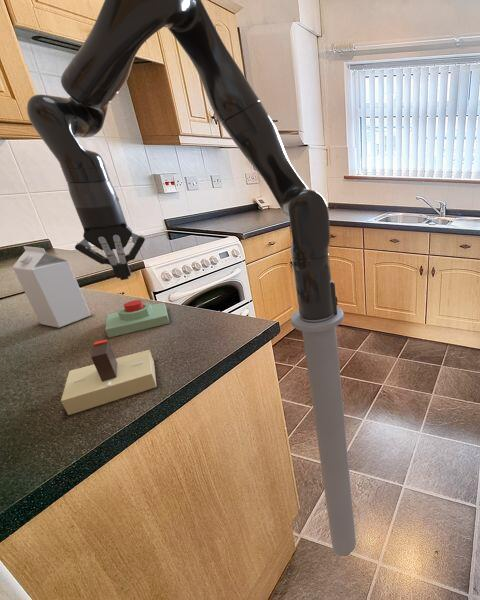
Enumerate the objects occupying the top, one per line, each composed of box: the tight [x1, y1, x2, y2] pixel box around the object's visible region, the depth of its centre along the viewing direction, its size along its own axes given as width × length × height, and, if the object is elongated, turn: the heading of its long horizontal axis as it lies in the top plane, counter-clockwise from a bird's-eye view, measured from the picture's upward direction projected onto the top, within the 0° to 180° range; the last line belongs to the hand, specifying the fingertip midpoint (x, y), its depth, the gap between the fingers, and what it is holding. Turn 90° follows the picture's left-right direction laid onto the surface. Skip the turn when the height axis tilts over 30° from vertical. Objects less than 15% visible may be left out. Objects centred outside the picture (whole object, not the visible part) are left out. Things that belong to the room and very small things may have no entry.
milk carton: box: [12, 245, 92, 328], centre depth 82 cm, size 7×7×19 cm
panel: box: [60, 349, 157, 416], centre depth 61 cm, size 12×10×3 cm
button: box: [123, 299, 144, 312], centre depth 82 cm, size 4×4×2 cm
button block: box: [104, 302, 170, 339], centre depth 83 cm, size 12×10×4 cm
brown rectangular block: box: [90, 339, 117, 381], centre depth 59 cm, size 6×2×5 cm, turn 36°
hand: (125, 278), depth 80 cm, fingers closed
